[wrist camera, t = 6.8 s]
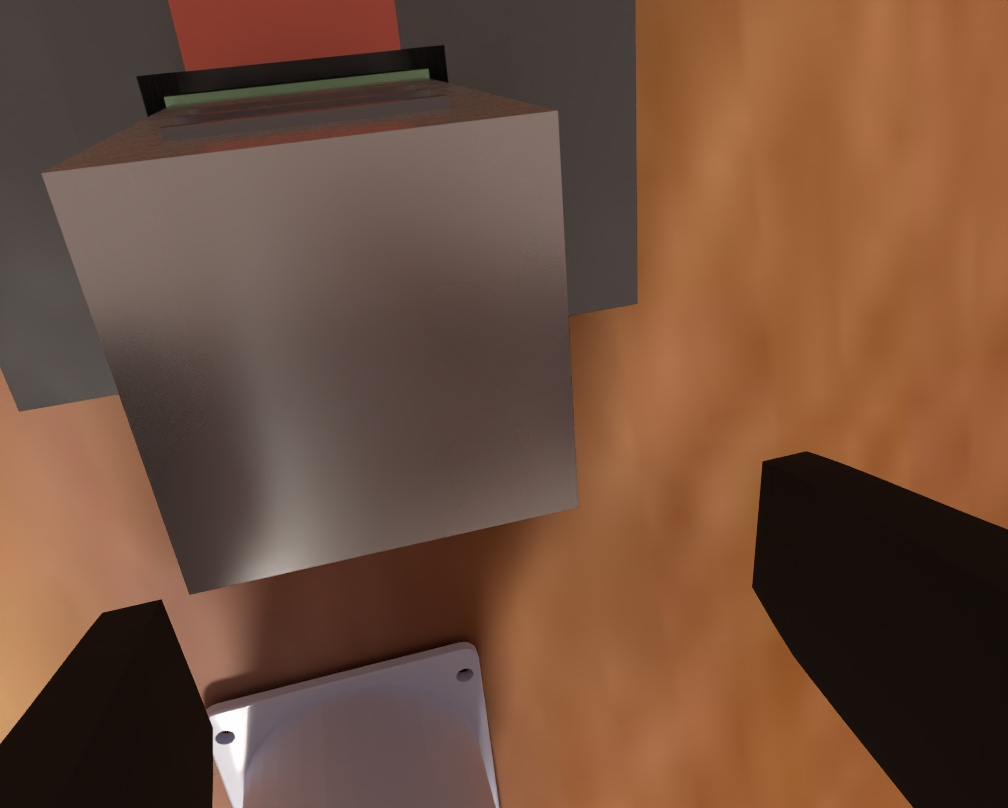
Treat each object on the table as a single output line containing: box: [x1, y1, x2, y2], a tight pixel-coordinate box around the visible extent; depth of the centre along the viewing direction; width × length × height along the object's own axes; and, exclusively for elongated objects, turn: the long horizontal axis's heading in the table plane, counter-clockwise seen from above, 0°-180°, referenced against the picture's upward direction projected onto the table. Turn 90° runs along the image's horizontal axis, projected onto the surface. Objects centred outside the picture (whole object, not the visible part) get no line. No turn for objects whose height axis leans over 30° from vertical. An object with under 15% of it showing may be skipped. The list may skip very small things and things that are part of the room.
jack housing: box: [0, 0, 637, 412], centre depth 14 cm, size 8×14×5 cm, turn 95°
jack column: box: [41, 68, 578, 595], centre depth 10 cm, size 4×4×8 cm
